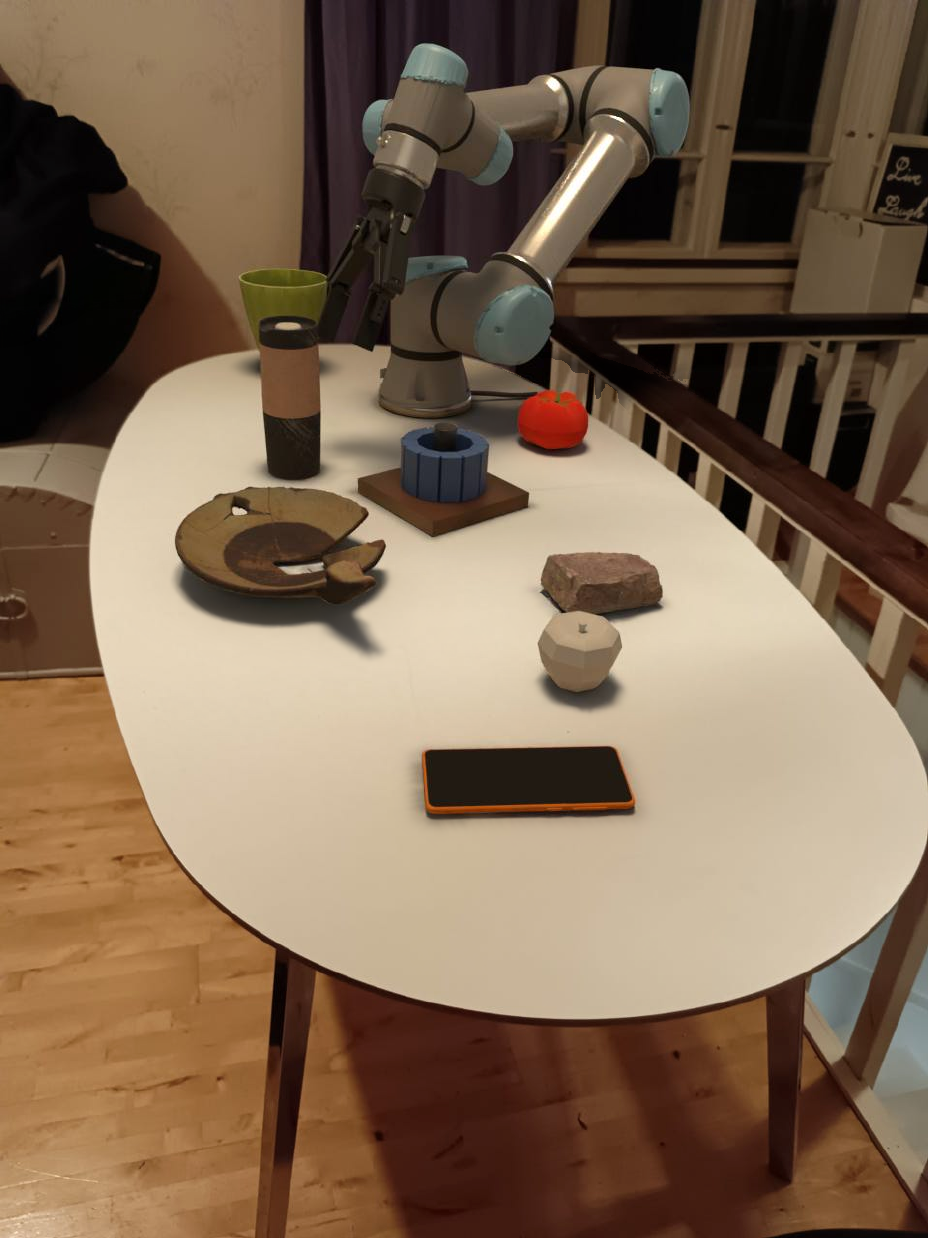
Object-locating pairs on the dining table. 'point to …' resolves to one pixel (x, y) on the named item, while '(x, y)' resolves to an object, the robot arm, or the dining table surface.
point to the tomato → (553, 420)
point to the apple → (579, 649)
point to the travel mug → (290, 395)
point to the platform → (435, 514)
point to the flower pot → (282, 295)
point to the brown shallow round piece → (278, 544)
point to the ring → (444, 467)
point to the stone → (601, 581)
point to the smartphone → (525, 779)
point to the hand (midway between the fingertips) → (341, 343)
